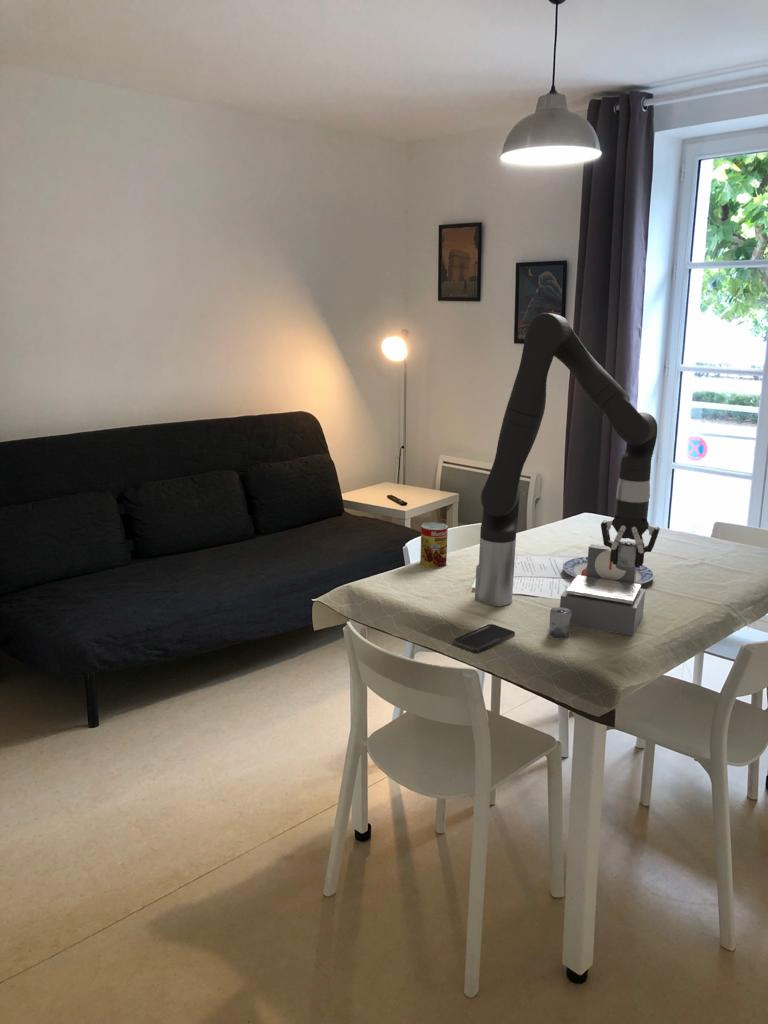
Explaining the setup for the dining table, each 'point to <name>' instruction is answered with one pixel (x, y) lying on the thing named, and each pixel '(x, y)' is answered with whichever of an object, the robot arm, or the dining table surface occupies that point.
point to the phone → (484, 638)
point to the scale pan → (604, 589)
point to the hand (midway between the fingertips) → (626, 565)
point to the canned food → (433, 545)
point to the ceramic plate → (580, 568)
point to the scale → (601, 610)
